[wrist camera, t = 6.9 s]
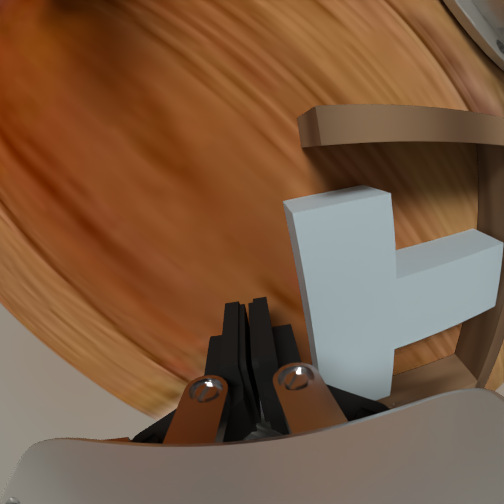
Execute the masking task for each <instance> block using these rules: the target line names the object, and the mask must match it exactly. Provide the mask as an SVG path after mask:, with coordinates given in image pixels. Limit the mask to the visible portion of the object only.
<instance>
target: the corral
mask: <svg viewBox="0 0 504 504" xmlns="http://www.w3.org/2000/svg"><path fill="white" fill-rule="evenodd" d="M297 121H298V127H299V134H300V140H301V147H302V148H303V147H313V146H323V145H336V144H350V143H367V142H395V141H439V142H466V143H477V155H478V178H479V202H478V226H477V231H480V232H482V233H484V234H486V235H488V236H490V237H493V238H495V239H497V240H499V241H501V242H503V243H504V117H499V116H493V115H488V114H482V113H476V112H469V111H462V110H454V109H446V108H436V107H424V106H409V105H383V104H351V105H324V106H315V107H313V108H311V109H310V110H308V111H307V112H305V113H304V114H302V115H301V116H299V117H298V118H297ZM503 340H504V244H503V256H502V265H501V273H500V280H499V286H498V293H497V298H496V303H495V306H494V307H492V308H490V309H488V310H486V311H484V312H482V313H480V314H478V315H476V316H474V317H472V318H470V319H468V320H466V321H464V322H463V325H462V329H461V333H460V336H459V340H458V344H457V347H456V351H455V354H453V355H450V356H448V357H445V358H443V359H440V360H437V361H435V362H432V363H429V364H427V365H424V366H421V367H418V368H415V369H412V370H409V371H406V372H403V373H400V374H397V375H394V376H392V382H391V390H390V396H387V397H384V398H381V399H378V400H375V401H378V402H380V403H382V404H385V405H386V406H393V403H394V402H399V401H406V400H412V399H417V398H423V397H428V396H433V395H437V394H441V393H445V392H449V391H454V390H460V389H469V388H484V387H485V385H486V383H487V380H488V378H489V376H490V373H491V371H492V369H493V366H494V364H495V361H496V359H497V356H498V354H499V351H500V348H501V345H502V343H503Z"/></svg>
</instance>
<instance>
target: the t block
mask: <svg viewBox="0 0 504 504" xmlns="http://www.w3.org/2000/svg"><path fill="white" fill-rule="evenodd" d="M283 205H284V210H285V215H286V219H287V224H288V229H289V234H290V239H291V244H292V249H293V254H294V260H295V265H296V270H297V276H298V281H299V287H300V292H301V298H302V303H303V309H304V315H305V321H306V327H307V333H308V339H309V345H310V352H311V358H312V365H313V366H314V367H315V368H316V369H317V370H318V372H319V373H320V375H321V377H322V378H323V380H324V382H325V384H327V385H330V386H333V387H336V388H339V389H341V390H344V391H347V392H350V393H353V394H356V395H359V396H362V397H365V398H368V399H371V400H374V401H375V400H378V399H381V398H384V397H387V396H390V390H391V382H392V373H393V362H394V350H395V349H396V348H399V347H402V346H405V345H408V344H410V343H413V342H416V341H418V340H421V339H423V338H426V337H428V336H431V335H433V334H436V333H438V332H441V331H443V330H445V329H448V328H450V327H452V326H455V325H457V324H459V323H461V322H464V321H466V320H468V319H470V318H472V317H474V316H476V315H478V314H480V313H482V312H484V311H486V310H488V309H490V308H492V307H494V306H495V303H496V298H497V293H498V286H499V280H500V273H501V265H502V256H503V244H504V243H503V242H501V241H499V240H497V239H495V238H493V237H490V236H488V235H486V234H484V233H482V232H480V231H477V230H475V229H470V230H467V231H464V232H460V233H457V234H453V235H450V236H446V237H443V238H439V239H436V240H432V241H429V242H425V243H421V244H418V245H414V246H410V247H407V248H403V249H399V250H396V251H395V234H394V221H393V210H392V201H391V193H388V192H385V191H382V190H379V189H376V188H372V187H369V186H366V185H360V186H355V187H350V188H344V189H339V190H334V191H329V192H324V193H319V194H314V195H310V196H305V197H300V198H295V199H291V200H286V201H283Z"/></svg>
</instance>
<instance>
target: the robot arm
mask: <svg viewBox="0 0 504 504" xmlns="http://www.w3.org/2000/svg"><path fill="white" fill-rule="evenodd" d="M443 1H444V3H445V4H446V6H447V7H448V8H449V10H450V11H451V12H452V14H453V15H454V16H455V18H456V19H457V20H458V22H459V23H460V24H461V25H462V27H463V28H464V29H465V30H466V31H467V33H468V34H469V35H470V36H471V38H472V39H473V40H474V41H475V42H476V43H477V44H478V46H479V47H480V48H481V49H482V50H483V51H484V52H485V54H486V55H487V56H489V57H490V58H491V59H492V60H493V61H494V62H495V63H496V64H497V65H498V66H499V67H500V68H501V69H502V70H503V71H504V0H443ZM248 305H249V322H248V318H247V313H246V308H245V304H241V305H240V304H239V301H238V302H232V303H226V304H225V311H224V322H223V332H222V335H219V336H211V337H210V341H209V347H208V354H207V361H206V368H205V374H204V376H202V377H198V378H196V379H194V380H193V381H191V382H190V383H189V384H188V385H187V386H186V388H185V390H184V392H183V395H182V397H181V400H180V402H179V404H178V407H177V409H175V410H174V411H172V412H171V413H169V414H168V415H166V416H165V417H163V418H162V419H160V420H159V421H157V422H156V423H154V424H153V425H151V426H149V427H148V428H147V429H145V430H143V431H142V432H140V433H139V434H138V435H136V436H135V437H134V438H133V440H130V439H129V437H125V438H117V439H107V440H97V439H86V438H55V439H48V440H44V441H41V442H38V443H35V444H33V445H32V446H31V447H29V448H28V449H27V451H26V452H25V453H24V454H23V456H22V457H21V459H20V460H19V462H18V463H17V465H16V467H15V469H14V471H13V472H12V474H11V476H10V478H9V481H8V483H7V485H6V487H5V489H4V491H3V494H2V497H1V499H0V504H504V397H503V396H502V395H500V394H498V393H497V392H495V391H493V390H490V389H486V388H469V389H460V390H454V391H449V392H445V393H441V394H437V395H433V396H428V397H423V398H417V399H412V400H406V401H399V402H394V403H393V406H386V405H385V404H382V403H380V402H378V401H374V400H371V399H368V398H365V397H362V396H359V395H356V394H353V393H350V392H347V391H344V390H341V389H339V388H336V387H333V386H330V385H327V384H325V382H324V380H323V378H322V377H321V375H320V373H319V372H318V370H317V369H316V368H315V367H314V366H312V365H310V364H307V363H301V360H300V356H299V352H298V349H297V345H296V341H295V338H294V334H293V331H292V327H291V324H288V325H282V326H277V327H271V321H270V316H269V310H268V304H267V298H266V297H262V298H256V299H253V303H248ZM249 324H250V327H249ZM259 397H260V398H259ZM260 401H261V405H262V409H263V413H264V417H265V421H266V422H268V421H270V424H271V428H272V429H274V430H276V431H278V432H280V433H281V434H283V436H276V437H269V438H262V439H254V440H246V437H247V436H248V435H249V434H250V433H251V432H254V431H257V430H256V423H261V411H260Z"/></svg>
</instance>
